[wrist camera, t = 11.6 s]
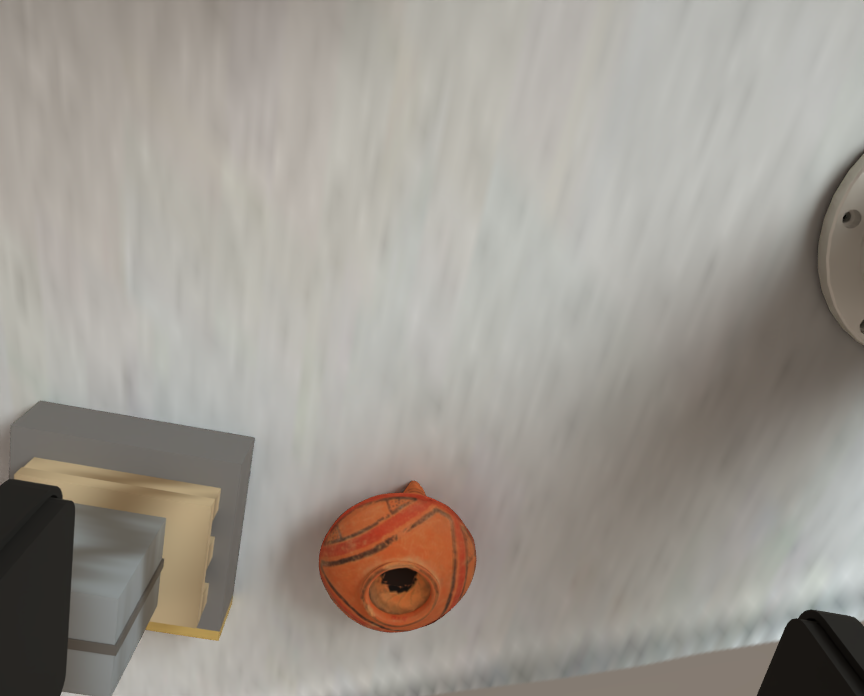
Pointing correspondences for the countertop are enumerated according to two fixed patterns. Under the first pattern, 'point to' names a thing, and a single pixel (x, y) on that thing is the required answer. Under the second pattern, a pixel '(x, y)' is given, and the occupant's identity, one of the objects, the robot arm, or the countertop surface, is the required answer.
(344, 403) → the countertop surface
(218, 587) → the dock
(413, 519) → the pot
